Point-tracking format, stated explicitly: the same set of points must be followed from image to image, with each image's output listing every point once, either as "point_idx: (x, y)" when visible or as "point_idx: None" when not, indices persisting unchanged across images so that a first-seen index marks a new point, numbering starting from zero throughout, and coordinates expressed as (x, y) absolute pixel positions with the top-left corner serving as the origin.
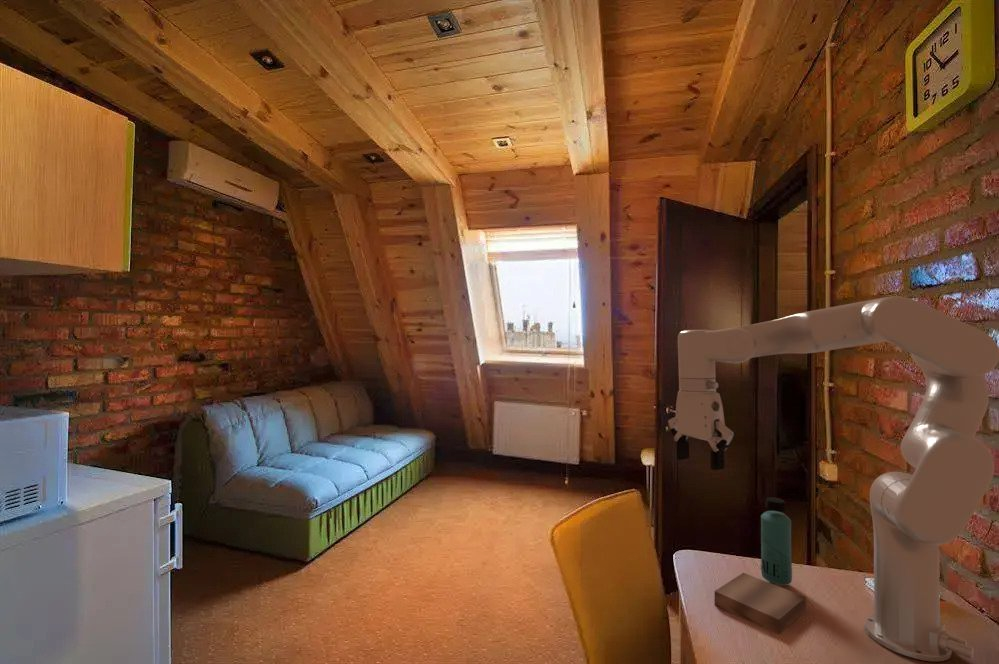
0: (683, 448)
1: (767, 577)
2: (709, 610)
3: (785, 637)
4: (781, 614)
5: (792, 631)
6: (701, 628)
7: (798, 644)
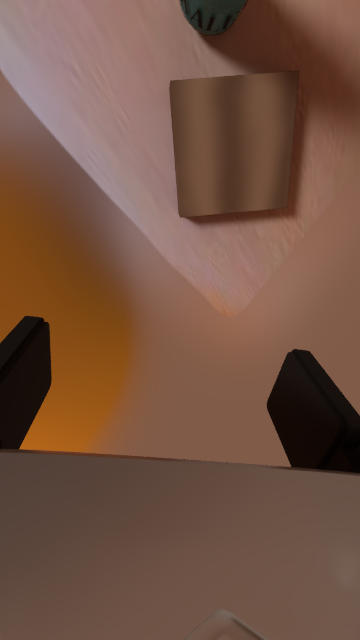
0: (24, 404)
1: (205, 32)
2: (183, 235)
3: None
4: (284, 188)
5: None
6: (201, 283)
7: (303, 203)
